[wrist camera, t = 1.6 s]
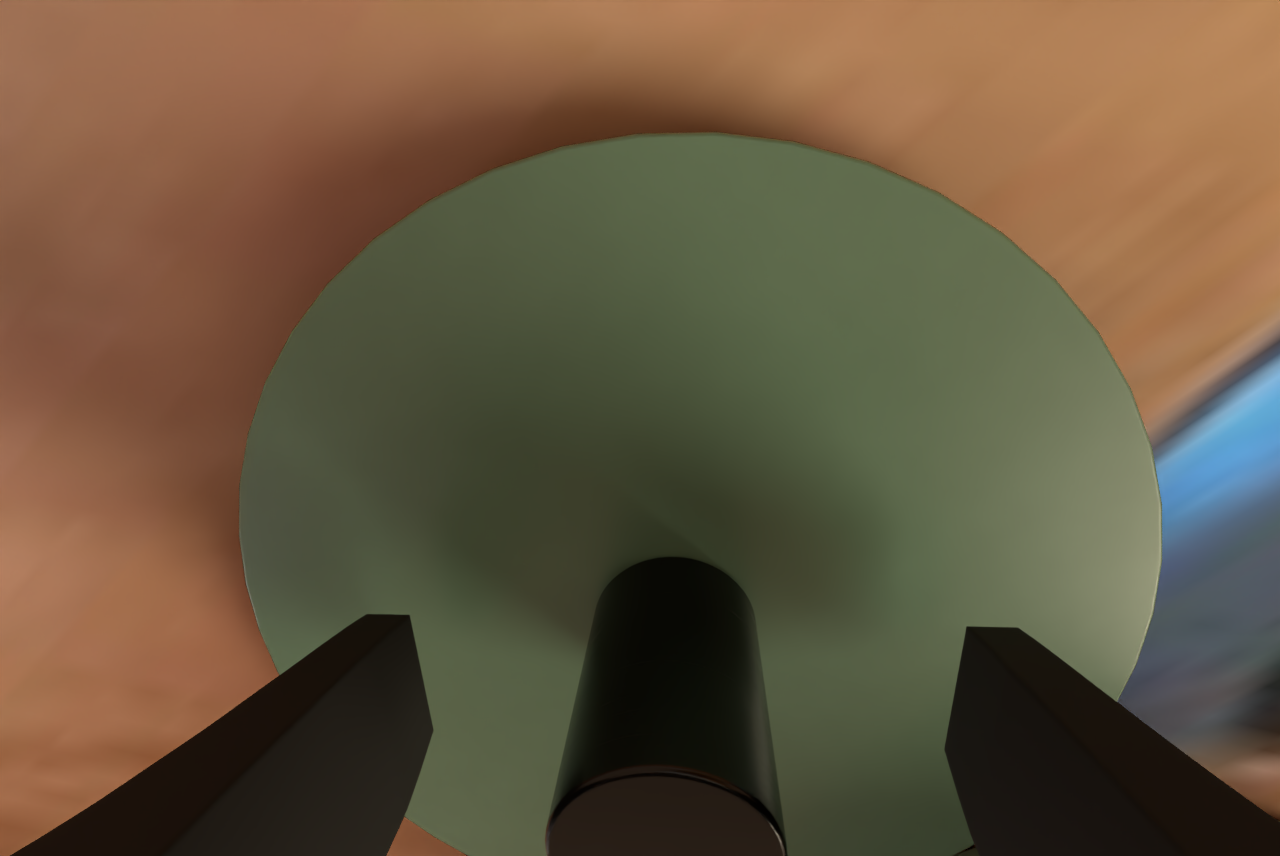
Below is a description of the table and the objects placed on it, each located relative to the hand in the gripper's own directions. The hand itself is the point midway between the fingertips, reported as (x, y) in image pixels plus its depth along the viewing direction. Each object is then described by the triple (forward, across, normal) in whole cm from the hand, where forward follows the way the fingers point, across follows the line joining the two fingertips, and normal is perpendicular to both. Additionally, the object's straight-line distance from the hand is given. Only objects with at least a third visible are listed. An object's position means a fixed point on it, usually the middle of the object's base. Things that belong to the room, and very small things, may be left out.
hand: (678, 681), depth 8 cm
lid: (+2, 0, 0) cm, 2 cm away
